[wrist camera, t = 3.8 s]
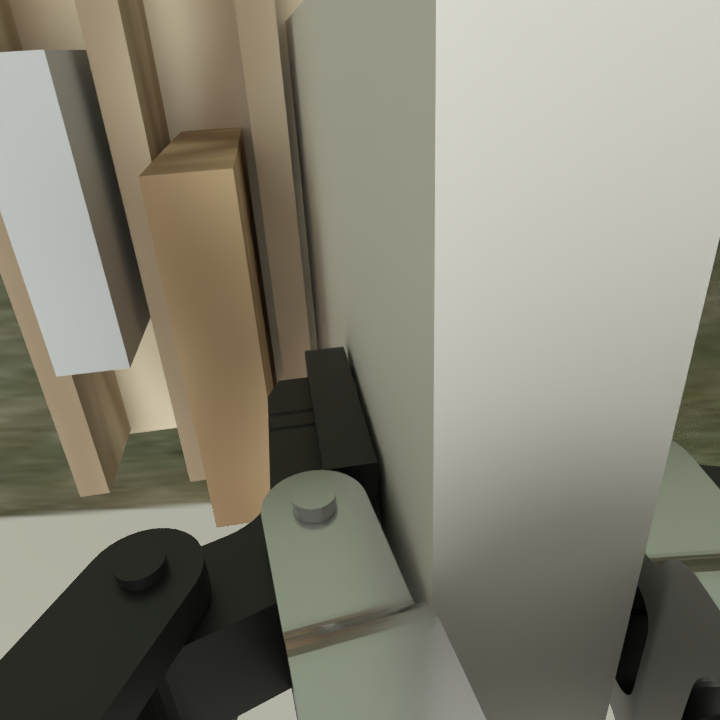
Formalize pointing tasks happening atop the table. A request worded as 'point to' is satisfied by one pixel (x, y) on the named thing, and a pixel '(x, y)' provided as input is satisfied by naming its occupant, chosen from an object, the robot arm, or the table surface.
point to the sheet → (514, 300)
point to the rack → (131, 157)
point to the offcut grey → (68, 212)
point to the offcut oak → (216, 309)
